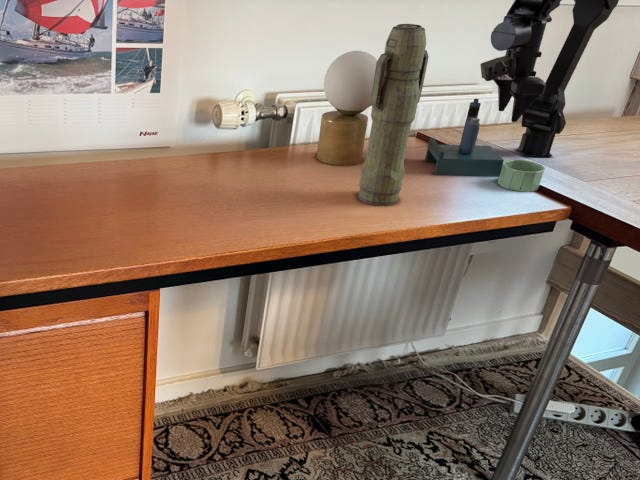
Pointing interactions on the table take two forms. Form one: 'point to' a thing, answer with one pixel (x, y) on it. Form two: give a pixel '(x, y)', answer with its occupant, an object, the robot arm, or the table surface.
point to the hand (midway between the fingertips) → (507, 116)
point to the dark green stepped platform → (463, 160)
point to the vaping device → (470, 129)
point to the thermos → (393, 113)
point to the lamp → (346, 108)
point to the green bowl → (521, 175)
